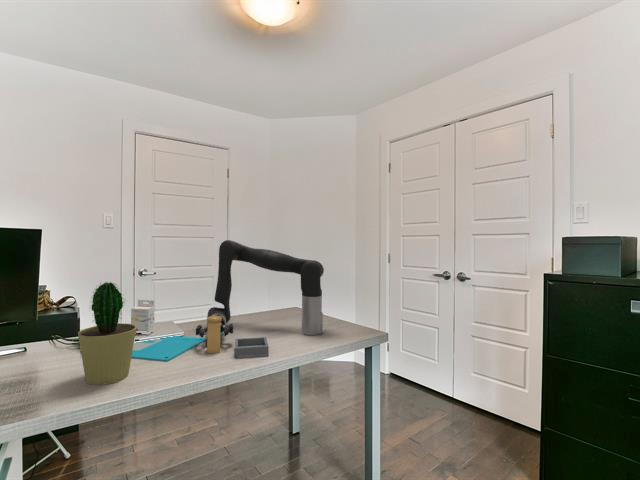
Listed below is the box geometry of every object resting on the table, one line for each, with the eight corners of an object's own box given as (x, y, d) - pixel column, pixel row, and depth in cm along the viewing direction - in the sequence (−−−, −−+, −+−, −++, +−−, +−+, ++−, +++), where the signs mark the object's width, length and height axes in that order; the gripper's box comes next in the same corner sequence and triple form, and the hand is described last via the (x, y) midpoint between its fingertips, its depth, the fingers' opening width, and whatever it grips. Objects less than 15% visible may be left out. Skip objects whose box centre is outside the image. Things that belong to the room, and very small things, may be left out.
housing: (265, 345, 136) (266, 337, 136) (268, 355, 125) (268, 346, 125) (235, 347, 134) (235, 338, 134) (235, 358, 122) (235, 348, 122)
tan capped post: (221, 348, 133) (221, 315, 133) (220, 352, 128) (221, 318, 128) (207, 348, 132) (207, 316, 132) (205, 353, 127) (206, 319, 127)
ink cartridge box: (130, 334, 150) (130, 301, 150) (137, 331, 155) (137, 299, 155) (148, 335, 150) (148, 301, 149) (154, 332, 154) (155, 299, 154)
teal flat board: (167, 362, 118) (167, 360, 118) (99, 356, 124) (99, 353, 124) (207, 340, 144) (207, 338, 144) (149, 336, 149) (149, 333, 149)
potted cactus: (142, 377, 104) (143, 280, 104) (82, 393, 94) (82, 285, 93) (129, 364, 115) (129, 276, 115) (73, 376, 105) (74, 279, 105)
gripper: (199, 315, 143) (194, 325, 127) (233, 314, 146) (233, 323, 131) (199, 333, 143) (193, 345, 127) (233, 331, 146) (232, 343, 131)
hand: (213, 334), depth 129 cm, fingers open, 8 cm apart
